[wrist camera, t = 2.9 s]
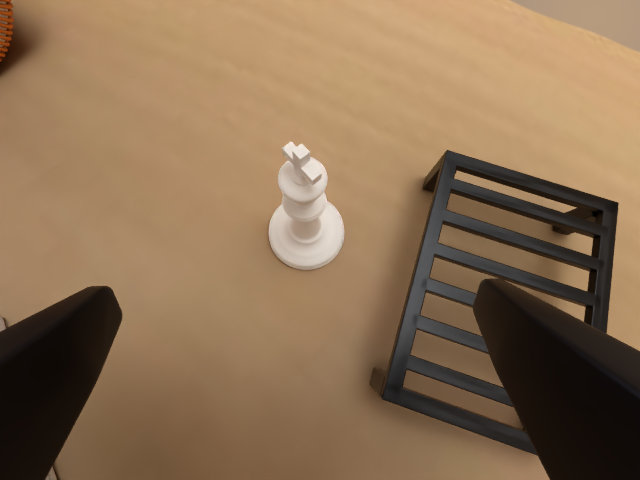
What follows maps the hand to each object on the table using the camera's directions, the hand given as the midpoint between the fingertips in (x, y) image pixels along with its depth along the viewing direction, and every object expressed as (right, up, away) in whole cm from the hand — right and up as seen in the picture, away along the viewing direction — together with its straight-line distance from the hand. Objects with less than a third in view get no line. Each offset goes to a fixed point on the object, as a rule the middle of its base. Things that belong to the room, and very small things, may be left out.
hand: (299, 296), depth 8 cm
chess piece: (0, +2, +13) cm, 13 cm away
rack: (+10, -2, +12) cm, 16 cm away
